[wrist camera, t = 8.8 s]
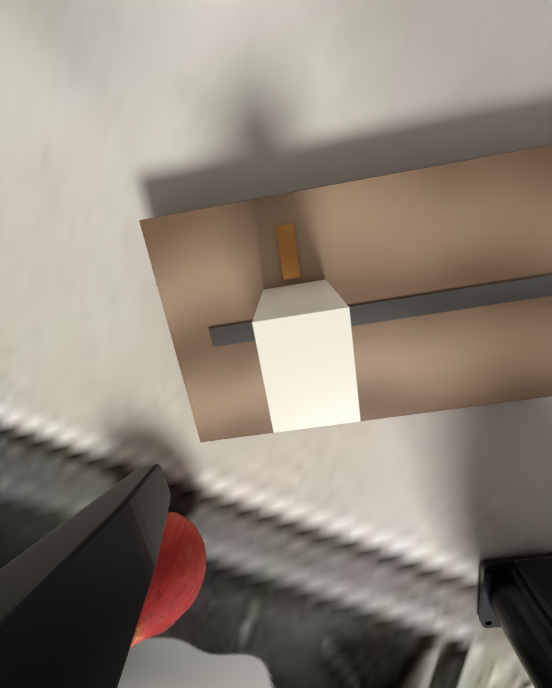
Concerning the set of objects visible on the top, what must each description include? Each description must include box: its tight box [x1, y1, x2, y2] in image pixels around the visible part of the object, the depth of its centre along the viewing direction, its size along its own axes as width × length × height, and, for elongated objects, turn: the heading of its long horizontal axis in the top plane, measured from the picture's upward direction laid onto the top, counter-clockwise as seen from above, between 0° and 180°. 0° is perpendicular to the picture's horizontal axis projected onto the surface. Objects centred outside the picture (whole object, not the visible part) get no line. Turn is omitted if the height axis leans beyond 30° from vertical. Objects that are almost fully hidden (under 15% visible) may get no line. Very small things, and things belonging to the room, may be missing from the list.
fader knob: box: [252, 280, 361, 433], centre depth 14 cm, size 4×3×6 cm
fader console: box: [139, 145, 552, 442], centre depth 17 cm, size 12×25×2 cm, turn 99°
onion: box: [130, 512, 206, 648], centre depth 20 cm, size 6×6×8 cm
